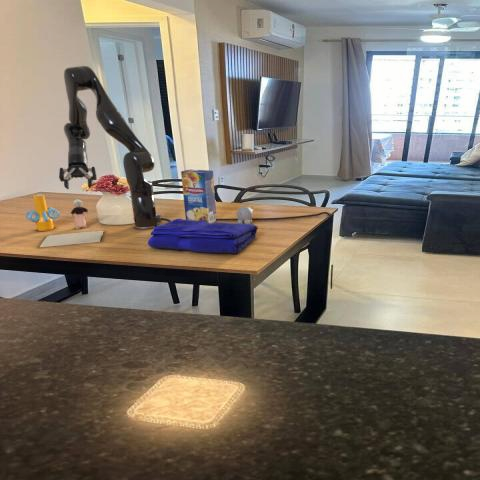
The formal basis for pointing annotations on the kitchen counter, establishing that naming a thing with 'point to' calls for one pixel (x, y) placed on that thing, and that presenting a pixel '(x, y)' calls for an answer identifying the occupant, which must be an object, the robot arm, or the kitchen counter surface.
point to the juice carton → (199, 195)
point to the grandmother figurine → (79, 214)
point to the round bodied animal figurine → (245, 215)
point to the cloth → (72, 238)
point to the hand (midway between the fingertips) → (78, 187)
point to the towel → (202, 236)
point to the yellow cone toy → (42, 214)
